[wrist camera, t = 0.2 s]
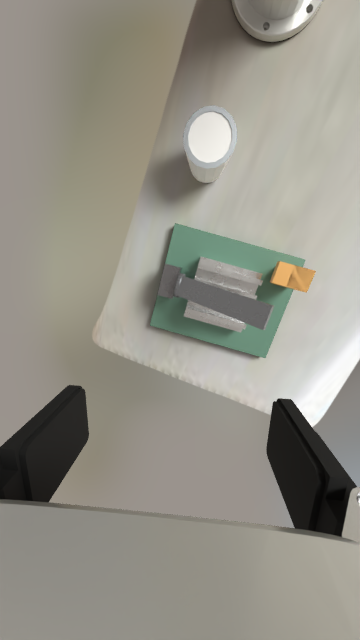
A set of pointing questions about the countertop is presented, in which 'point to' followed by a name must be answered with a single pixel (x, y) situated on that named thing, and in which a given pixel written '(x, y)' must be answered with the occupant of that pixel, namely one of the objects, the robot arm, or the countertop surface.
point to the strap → (224, 301)
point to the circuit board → (199, 243)
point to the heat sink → (220, 277)
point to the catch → (292, 276)
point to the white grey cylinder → (209, 142)
